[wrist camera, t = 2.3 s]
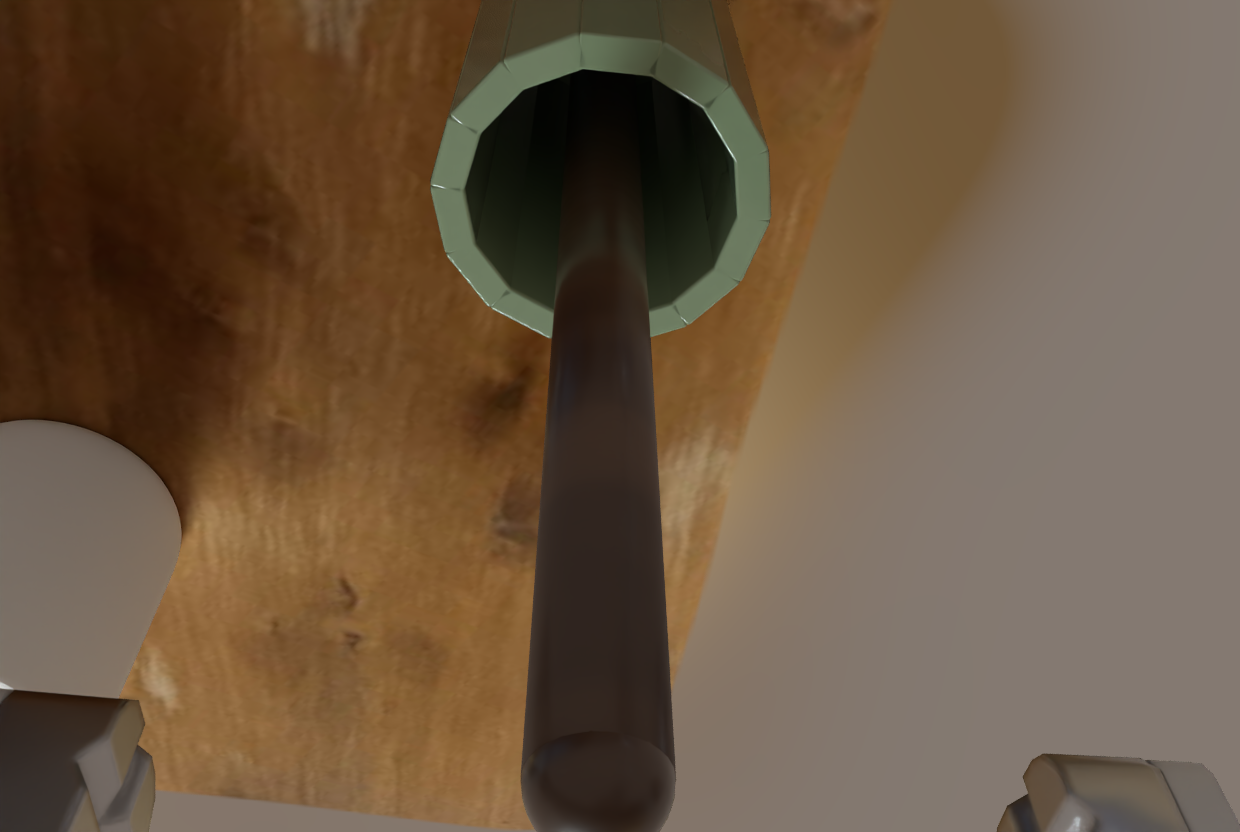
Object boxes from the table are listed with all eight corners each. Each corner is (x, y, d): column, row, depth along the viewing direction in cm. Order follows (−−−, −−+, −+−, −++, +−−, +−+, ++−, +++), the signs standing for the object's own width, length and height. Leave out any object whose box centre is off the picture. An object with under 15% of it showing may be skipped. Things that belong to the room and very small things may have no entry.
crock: (493, -142, 27) (432, 15, 18) (736, -113, 28) (805, 57, 18) (483, 91, 31) (427, 329, 21) (699, 114, 31) (741, 358, 21)
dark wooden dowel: (580, -51, 28) (524, 758, 9) (636, -44, 28) (700, 769, 9) (571, 45, 29) (508, 921, 10) (625, 52, 29) (660, 928, 10)
